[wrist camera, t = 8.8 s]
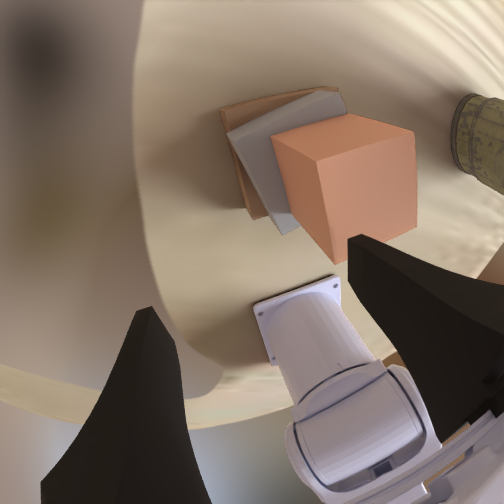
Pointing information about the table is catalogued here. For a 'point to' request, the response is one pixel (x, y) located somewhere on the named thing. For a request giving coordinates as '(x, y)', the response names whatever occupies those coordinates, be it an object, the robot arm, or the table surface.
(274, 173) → the tower middle
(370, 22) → the table surface
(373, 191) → the terracotta block
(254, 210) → the tower base
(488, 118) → the stone statue
